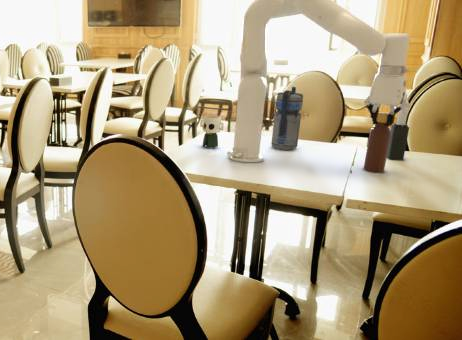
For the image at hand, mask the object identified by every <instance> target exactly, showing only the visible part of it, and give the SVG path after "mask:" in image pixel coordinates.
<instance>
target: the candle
mask: <svg viewBox="0 0 462 340" xmlns="http://www.w3.org/2000/svg"><path fill="white" fill-rule="evenodd" d="M405 100H406V102H407V104H408V107H407V108H405V109H402V110H400V111H399V112H398V113H397V119H396V123H395V122H394V123H393V124H392V125H391V126H390V130H391V137H390V142H389V147H388V152H387V158H386V159H388V160H392V161H393V160H394V161H404V158H405V152H406V147H407V142H408V136H409V131H410V126H409V125H408V124H407V118H408V112H409V107H410V102H409V100H408V94H407V93H406V97H405ZM401 105H402V104H401ZM401 105H399V107H400V106H401Z"/></svg>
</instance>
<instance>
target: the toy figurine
mask: <svg viewBox="0 0 462 340" xmlns="http://www.w3.org/2000/svg"><path fill="white" fill-rule="evenodd" d="M199 127H200V128H202V131H203V132H204V135H203V140H202V147H204V148H208V149H215V148H217V147H218V146H219V138H218V137H219V136H218V133H220V132H221V131H224V129H225V123H224V122H223V121H222V116H221V115H215V114H214V115H213V114H207V115H204V116H203V118H202V119H200V122H199Z"/></svg>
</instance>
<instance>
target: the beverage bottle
mask: <svg viewBox="0 0 462 340" xmlns="http://www.w3.org/2000/svg"><path fill="white" fill-rule="evenodd" d="M303 103H304V94H303V93H299V92H297V88H296V86H291V90H289V89H286V90H284V91H283V92H278V93H277V95H276V99H275V103H274V104H275V105H274V106H275V108H276V111H275V112H274V116H273V117H274V118H273V125H272V135H271V143H270V144H271V146H272V148H274V149H276V150H281V151H293V150H296V149H297V147H298V145H299V144H298V143H299V136H300V135H299V134H300V127H301V119H302V113H301V112H300V111H301V110H302V109H303V105H304V104H303Z"/></svg>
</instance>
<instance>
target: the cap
mask: <svg viewBox="0 0 462 340" xmlns="http://www.w3.org/2000/svg"><path fill="white" fill-rule="evenodd" d="M389 114H390V112H388V111H379V112H378V113H377V118H376V121H377V122H382V123H387V118H388V115H389Z"/></svg>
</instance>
